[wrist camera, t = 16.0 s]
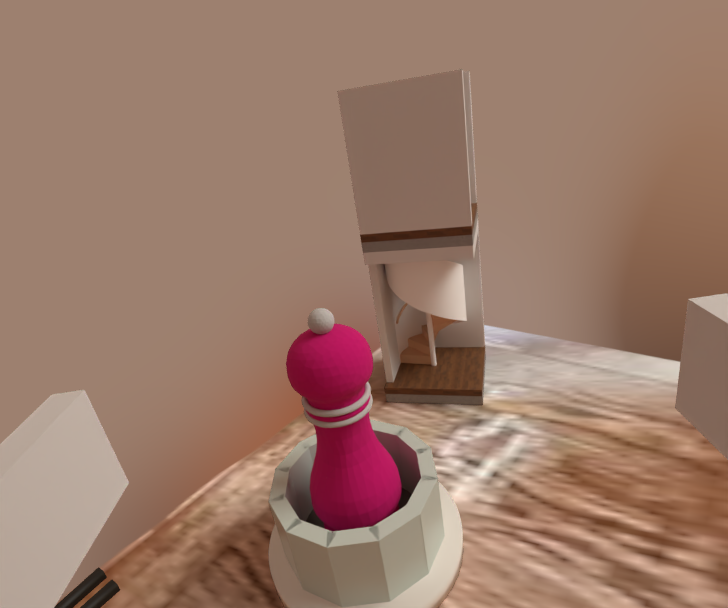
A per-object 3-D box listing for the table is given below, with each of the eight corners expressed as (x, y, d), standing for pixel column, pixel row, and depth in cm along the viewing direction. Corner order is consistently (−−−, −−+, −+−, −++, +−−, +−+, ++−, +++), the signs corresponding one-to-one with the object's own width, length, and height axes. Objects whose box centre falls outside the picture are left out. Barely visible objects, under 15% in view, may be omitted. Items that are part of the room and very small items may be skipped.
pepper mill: (303, 532, 39) (244, 318, 32) (366, 481, 44) (326, 281, 36) (361, 586, 34) (307, 346, 26) (425, 522, 38) (395, 299, 31)
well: (444, 462, 47) (437, 399, 44) (486, 627, 32) (480, 549, 29) (285, 483, 47) (268, 423, 44) (256, 655, 33) (227, 582, 30)
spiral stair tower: (386, 401, 57) (337, 91, 44) (402, 356, 67) (366, 88, 53) (482, 404, 54) (462, 69, 40) (485, 357, 63) (469, 70, 50)
